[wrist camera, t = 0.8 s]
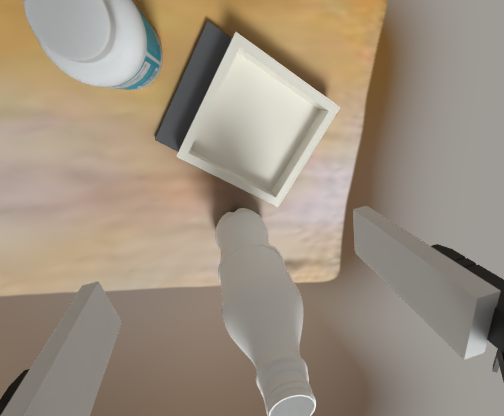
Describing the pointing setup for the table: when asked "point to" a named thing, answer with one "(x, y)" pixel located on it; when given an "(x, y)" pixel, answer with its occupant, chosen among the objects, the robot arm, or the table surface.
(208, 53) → the mat
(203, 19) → the table surface
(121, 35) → the pill bottle
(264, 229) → the water bottle
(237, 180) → the tray
